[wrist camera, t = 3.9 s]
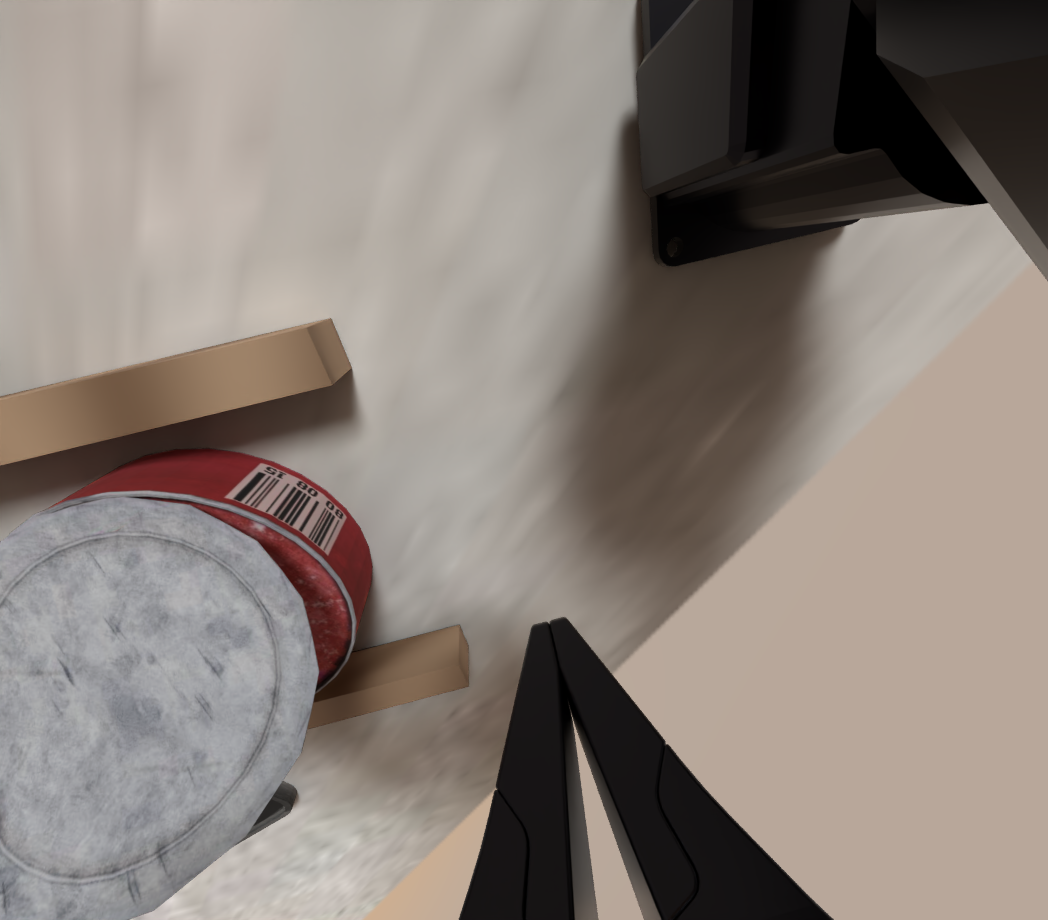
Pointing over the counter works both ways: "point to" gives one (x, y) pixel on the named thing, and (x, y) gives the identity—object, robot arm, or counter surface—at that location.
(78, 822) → the canned food
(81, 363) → the counter surface
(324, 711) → the guide channel
